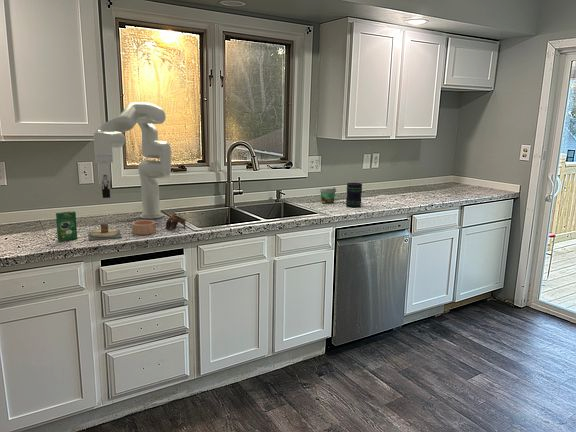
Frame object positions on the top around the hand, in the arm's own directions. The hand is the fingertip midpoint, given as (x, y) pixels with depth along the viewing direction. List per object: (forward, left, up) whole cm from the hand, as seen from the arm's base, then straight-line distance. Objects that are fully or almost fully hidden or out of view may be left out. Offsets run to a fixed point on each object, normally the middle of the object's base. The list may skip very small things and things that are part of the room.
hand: (106, 195), depth 214 cm
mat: (-1, -2, -19) cm, 20 cm away
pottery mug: (-3, +32, -20) cm, 38 cm away
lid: (-1, -2, -19) cm, 19 cm away
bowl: (-1, +16, -19) cm, 25 cm away
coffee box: (+1, -18, -20) cm, 26 cm away
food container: (-37, +140, -20) cm, 146 cm away
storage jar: (-23, +150, -20) cm, 153 cm away
